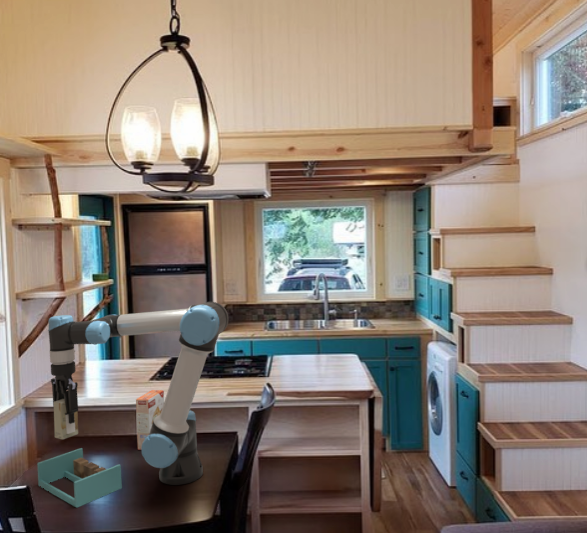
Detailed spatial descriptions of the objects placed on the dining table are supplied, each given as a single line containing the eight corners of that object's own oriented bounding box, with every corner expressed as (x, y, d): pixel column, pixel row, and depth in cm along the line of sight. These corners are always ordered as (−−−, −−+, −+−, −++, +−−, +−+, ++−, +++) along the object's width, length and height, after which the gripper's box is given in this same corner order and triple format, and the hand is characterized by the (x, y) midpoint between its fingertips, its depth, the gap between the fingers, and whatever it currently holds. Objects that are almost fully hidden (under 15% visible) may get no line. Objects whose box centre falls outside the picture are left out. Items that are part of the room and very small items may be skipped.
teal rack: (121, 488, 175) (120, 465, 175) (76, 507, 163) (75, 482, 163) (82, 469, 192) (81, 448, 191) (38, 485, 179) (37, 463, 179)
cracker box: (151, 451, 207) (148, 399, 206) (137, 450, 208) (134, 399, 207) (166, 438, 220) (164, 389, 220) (153, 437, 222) (151, 389, 221)
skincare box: (62, 440, 170) (60, 403, 169) (54, 438, 172) (52, 401, 172) (79, 433, 175) (77, 398, 175) (71, 431, 178) (69, 396, 177)
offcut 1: (89, 477, 185) (88, 460, 185) (81, 480, 182) (80, 463, 182) (82, 473, 188) (81, 457, 188) (74, 476, 186) (73, 460, 185)
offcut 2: (110, 487, 176) (109, 470, 176) (102, 491, 174) (101, 473, 173) (102, 484, 179) (102, 466, 179) (94, 487, 177) (93, 470, 176)
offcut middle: (99, 482, 180) (98, 465, 180) (91, 485, 178) (90, 468, 178) (92, 478, 183) (91, 462, 183) (84, 481, 181) (83, 465, 181)
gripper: (87, 362, 170) (91, 432, 171) (60, 357, 181) (64, 422, 182) (65, 367, 164) (69, 439, 165) (39, 361, 176) (43, 428, 176)
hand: (66, 430), depth 174 cm, fingers closed on skincare box, 5 cm apart
